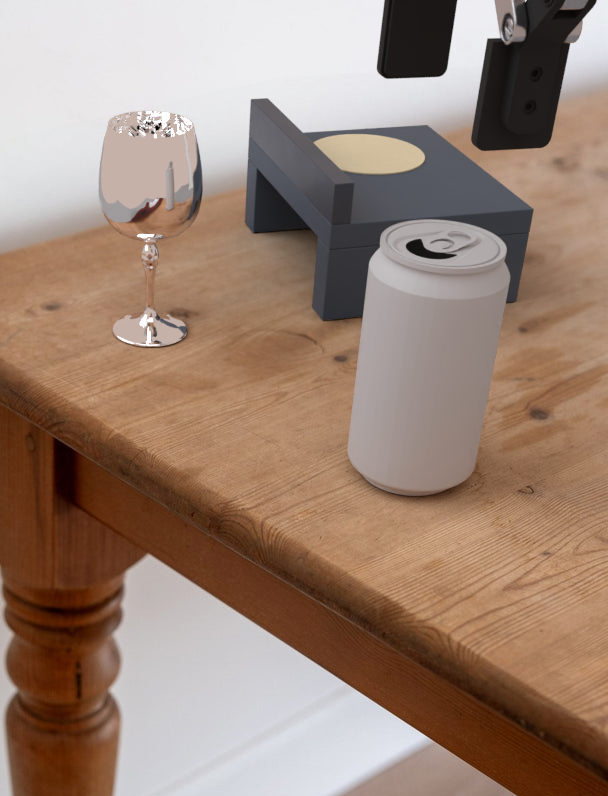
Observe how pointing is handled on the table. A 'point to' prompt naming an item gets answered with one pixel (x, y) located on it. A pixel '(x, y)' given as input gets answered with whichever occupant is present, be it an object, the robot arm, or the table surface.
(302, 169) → the dark grey stand
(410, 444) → the beverage can
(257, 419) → the table surface
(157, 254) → the wineglass
